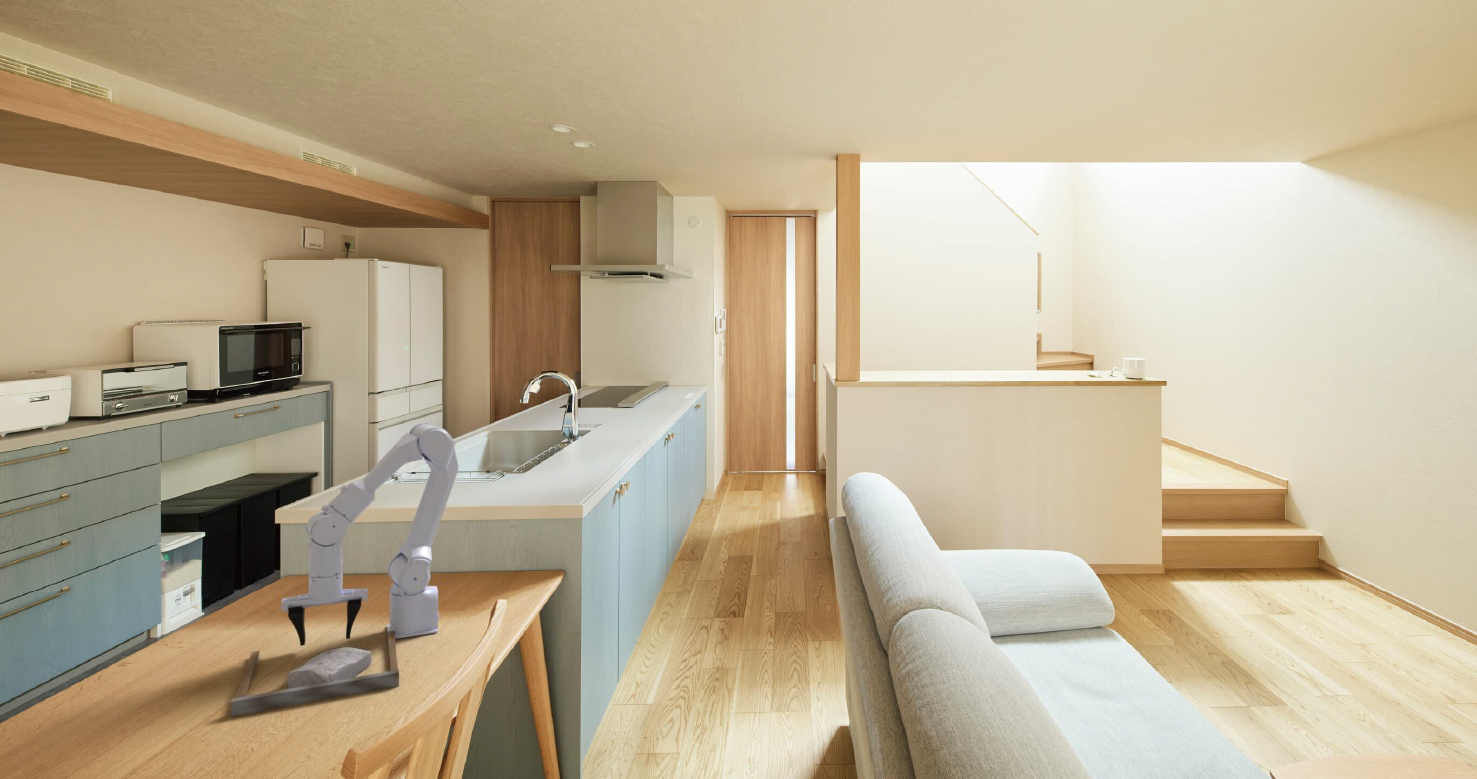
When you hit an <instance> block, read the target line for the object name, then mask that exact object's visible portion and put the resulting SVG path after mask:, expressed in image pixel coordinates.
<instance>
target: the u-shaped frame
mask: <svg viewBox="0 0 1477 779" xmlns="http://www.w3.org/2000/svg"><path fill="white" fill-rule="evenodd" d="M387 644H388V657H389V658H388V659H389V671H383V672H379V673H378V672H377V673H373V674H366V675H361V676H360V675H358V676H355V677H354V678H348V679H342V680H336V681H331V682H325V683H319V684H313V685H308V686H302V687H296V688H290V689H289V688H285V689H280V690H274V691H268V692H263V693H257V694H252V695H248V692H249V689H250V685H251V683H252V680H253V678H254V675H255V671H256V669H257V664H258V662H259V659H260V650H255V651H251V653H250V656H249V658H248V660H247V665H246V667H245V669H244V672H243V674H242V678H241V680H240V683H239V686H238V689H237V692H236V694H235V697H233V698H231V700H230V717H231V718H232V717H238V716H245V715H250V714H254V713H255V714H256V713H260V712H265V711H271V710H277V709H282V708H286V707H287V708H288V707H294V706H298V705H303V704H308V703H309V704H310V703H314V702H315V703H316V702H319V701H320V702H321V701H325V700H330V699H336V698H340V697H341V698H343V697H347V696H353V695H358V694H359V695H360V694H363V693H369V692H374V691H380V690H386V689H391V688H396V687H400V670H399V666H398V664H399V663H398V656H397V647H396V639H395V633H394V631H388V633H387Z"/></svg>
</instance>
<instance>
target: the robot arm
mask: <svg viewBox="0 0 1477 779" xmlns="http://www.w3.org/2000/svg"><path fill="white" fill-rule="evenodd" d="M455 447H456V442H455V440H454V439H453V438H452V436H451V434H450V433H449V432H448V431H447V430H446V429H444V428H443V427H439V426H435V425H433V424H432V423H428V422H421V423H417V424H416V425H414V426H413V427H411V428H410V430H409V431H408V432H406V433H405V434H404V435H402V436H401V437H400V438H399V439H398V441H397V442H395V444H394V445H393V446H392V447H391V449H390V450H388V452H387V453H386V454H385V455H384V456H383V457H382V458H380V460H379V461H378V462H377V463H376V464H375V466H373V468H372V469H371V470H370V471H369V472H368V473H367V474H366V475H365V476H364V478H362V479H361V480H356V481H350V483H349V484H343V485H342V486H341V487H340V488H339V491H340V492H339V493H338V494H337V495H336V496H335V497H334V498H333V499H332V500H331V501H330V502H329V503H328V504H327V505H325V504H324V505H322V506H321V507H320V510H321V511H320V512H316V513H315V514H313V515H312V516H311V517H310V518H309V519H308V521H307V525H306V526H305V531H306V533H307V535H308V536H309V537H311V538H309V544H308V546H309V551H308V593H305V594H300V595H296V596H291V597H286V598H285V597H284V598H282V600H281V608H280V609H281V612H287V613H288V614H287V617H288V620H289V621H290V622H291V624H292V625H293V627H294V629H295V631H296V634H297V636H298V639H299V645H300V647H301V646H305V645H306V628H305V618H306V617H305V615H306V614H305V609H306V608H309V607H310V608H311V607H318V606H326V605H334V604H342V603H347V604H346V630H345V639H346V640H349V639H351V633H352V628H353V625H354V622H355V620H356V617H357V616H358V614H359V611H360V609H361V608H362V602H367V601H368V598H369V597H368V588H349V589H348V588H346V589H343V578H344V577H343V575H344V574H343V573H344V572H343V548H342V544H343V542H342V539H344V538H345V536H346V534H347V528H348V526H350V525H351V524H352V523H353V522H354V521H355V520H357V518H359V516H360V515H361V514H362V513H363V512H364V511H365V510H366V509H368V507H369V506H370V505H371V504H372V503H373V502H374V501H375V499H376V498H375V497H376V496H375V495H376V490H378V489H379V488H381V486H382V485H383V484H384V483H385V482H387V481H388V480H389V479H390V478H391V477H392V476H393V475H394V474H395V473H396V472H397V471H399V470H400V469H401V468H402V467H403V466H404V465H405V464H407V463H410V462H416V461H422V460H423V459H424V461H425V463H426V464H427V466H428V467H429V469H430V473H429V475H428V476H429V477H428V479H427V481H426V484H425V487H424V489H423V492H422V495H421V498H420V501H419V504H418V507H417V509H416V512H415V514H414V517H413V520H412V524H411V526H410V529H409V532H408V535H407V538H406V540H405V541H404V542H403V543H402V544H401V546H399V549H398V551H397V554H396V555H395V556H394V557H393V558H391V560H390V562H388V566H387V574H388V577H389V578H390V579H391V580H392V584H391V586H390V588H389V623H387V624H386V631H387V634H388V631H394V633H395V640H396V639H402V638H409V637H417V636H422V635H428V634H436V633H438V632H439V620H440V612H439V592H438V590H439V589H438V587H437V585H433V586H432V585H429V583H430V581H431V564H432V561H433V560H432V559H433V556H432V545H433V543H434V540H435V537H436V536H437V531H438V529H439V525H440V523H441V520H442V517H443V514H444V512H445V509H446V506H447V503H448V500H449V499H450V495H451V492H452V489H453V487H454V483H455V480H456V478H457V475H458V471H459V463H458V458H457V452H456V448H455Z"/></svg>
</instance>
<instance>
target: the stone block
mask: <svg viewBox="0 0 1477 779" xmlns="http://www.w3.org/2000/svg"><path fill="white" fill-rule="evenodd" d="M371 653H372V652H371V651H370V650H364V649H362V648H361V649H360V648H356V647H350V646H349V647H347V646H343V647H339V648H333V649H328V650H325V651H323V652H321V653H319V654H317V655H315V656H313V657H312V658H309V660H308V661H306V662H305V663H304V664H303V665H302V666H300V667H298V668H297V669H294V670H291V671H290V672H288V674H287V676H286V677H287V678H286V683H287V687H288V689H290V688H296V687H302V686H308V685H313V684H319V683H325V682H331V681H336V680H342V679H348V678H354V677H357V676H359V675H360V674H361V673H363V672H364V671H366V670H367V669H368V668H369V667H370V666H371V664H372V658H373V657H372V654H371Z"/></svg>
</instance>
